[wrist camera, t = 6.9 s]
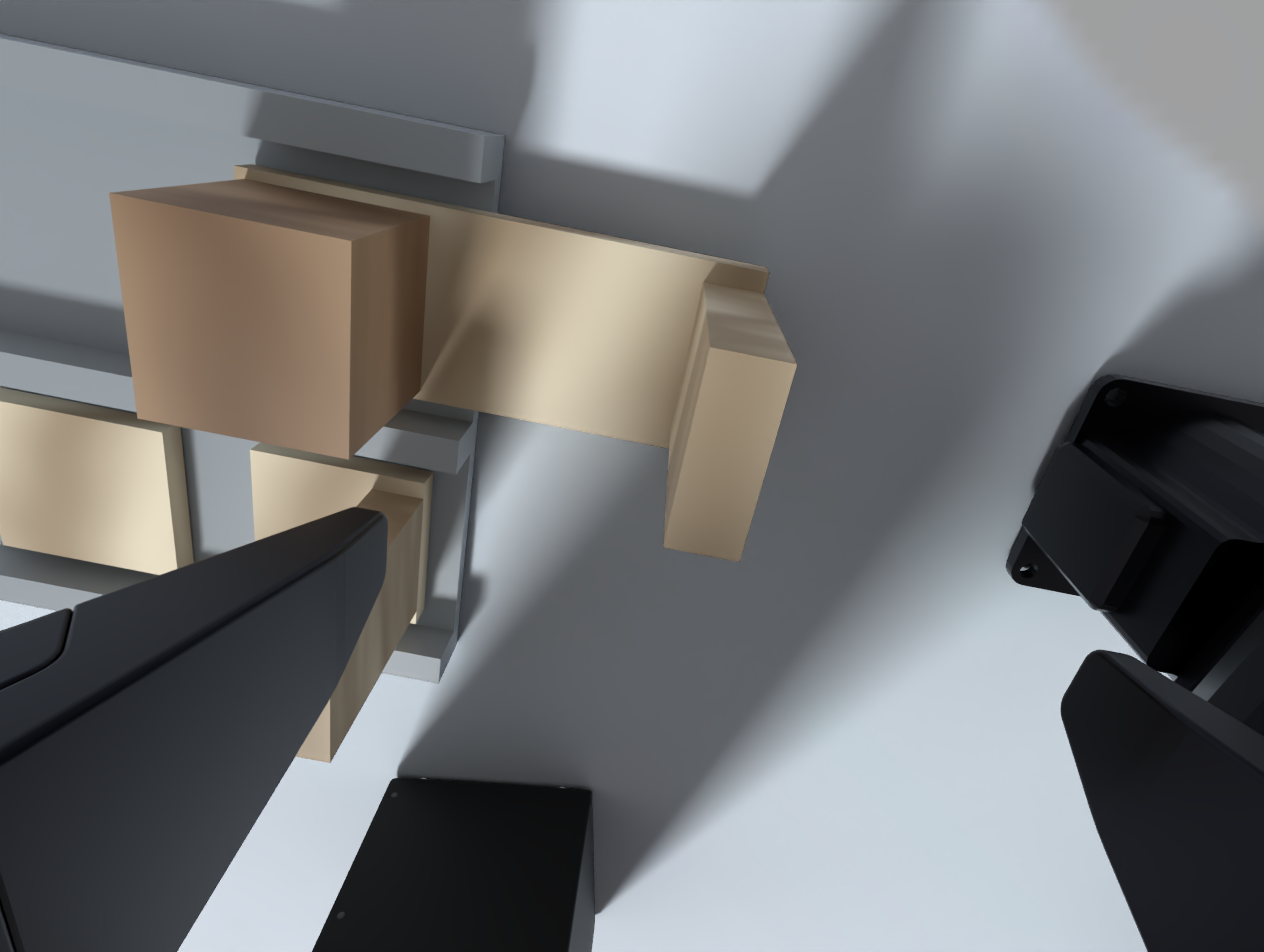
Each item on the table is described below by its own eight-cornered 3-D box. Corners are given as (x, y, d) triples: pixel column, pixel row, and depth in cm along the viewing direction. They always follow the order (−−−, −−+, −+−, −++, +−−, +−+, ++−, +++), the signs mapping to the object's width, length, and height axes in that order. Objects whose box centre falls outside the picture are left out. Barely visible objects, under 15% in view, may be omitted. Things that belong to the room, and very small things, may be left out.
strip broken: (433, 471, 21) (330, 609, 15) (423, 608, 23) (330, 778, 17) (-7, 385, 21) (-294, 489, 15) (24, 532, 23) (-214, 675, 17)
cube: (430, 215, 17) (351, 241, 13) (420, 391, 19) (348, 459, 15) (244, 179, 17) (108, 192, 13) (253, 358, 19) (137, 418, 15)
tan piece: (766, 267, 18) (805, 335, 12) (719, 447, 20) (733, 583, 14) (252, 164, 18) (25, 180, 12) (260, 356, 20) (72, 455, 14)
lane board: (505, 135, 18) (484, 135, 16) (456, 643, 25) (438, 683, 23) (-100, 13, 18) (-190, 0, 16) (21, 559, 25) (-32, 594, 23)
